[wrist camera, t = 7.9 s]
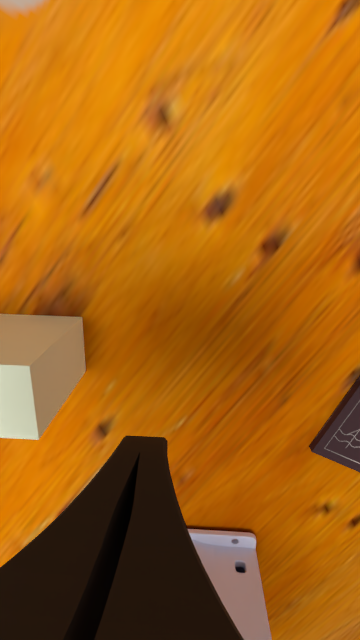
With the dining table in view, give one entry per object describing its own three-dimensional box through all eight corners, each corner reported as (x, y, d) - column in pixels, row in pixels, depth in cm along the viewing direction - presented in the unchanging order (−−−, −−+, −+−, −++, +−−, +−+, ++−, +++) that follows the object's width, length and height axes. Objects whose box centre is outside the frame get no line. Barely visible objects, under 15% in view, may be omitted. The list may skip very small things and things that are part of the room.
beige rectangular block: (82, 316, 19) (29, 366, 13) (86, 370, 20) (38, 439, 14) (-19, 312, 19) (-117, 359, 13) (-10, 366, 21) (-97, 432, 14)
